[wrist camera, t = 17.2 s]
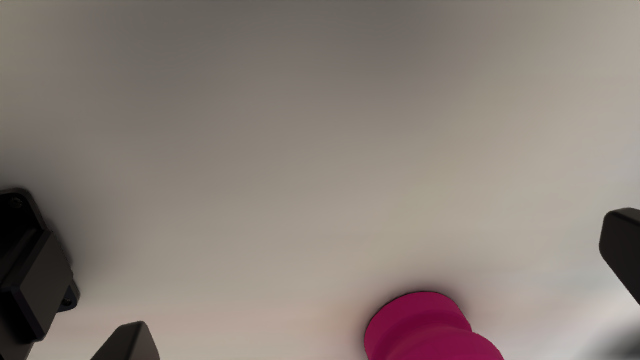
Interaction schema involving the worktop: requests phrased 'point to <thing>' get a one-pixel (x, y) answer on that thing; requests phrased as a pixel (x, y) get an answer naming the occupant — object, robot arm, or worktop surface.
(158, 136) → the worktop surface
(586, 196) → the worktop surface
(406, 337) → the pepper mill
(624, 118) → the worktop surface
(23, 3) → the worktop surface
